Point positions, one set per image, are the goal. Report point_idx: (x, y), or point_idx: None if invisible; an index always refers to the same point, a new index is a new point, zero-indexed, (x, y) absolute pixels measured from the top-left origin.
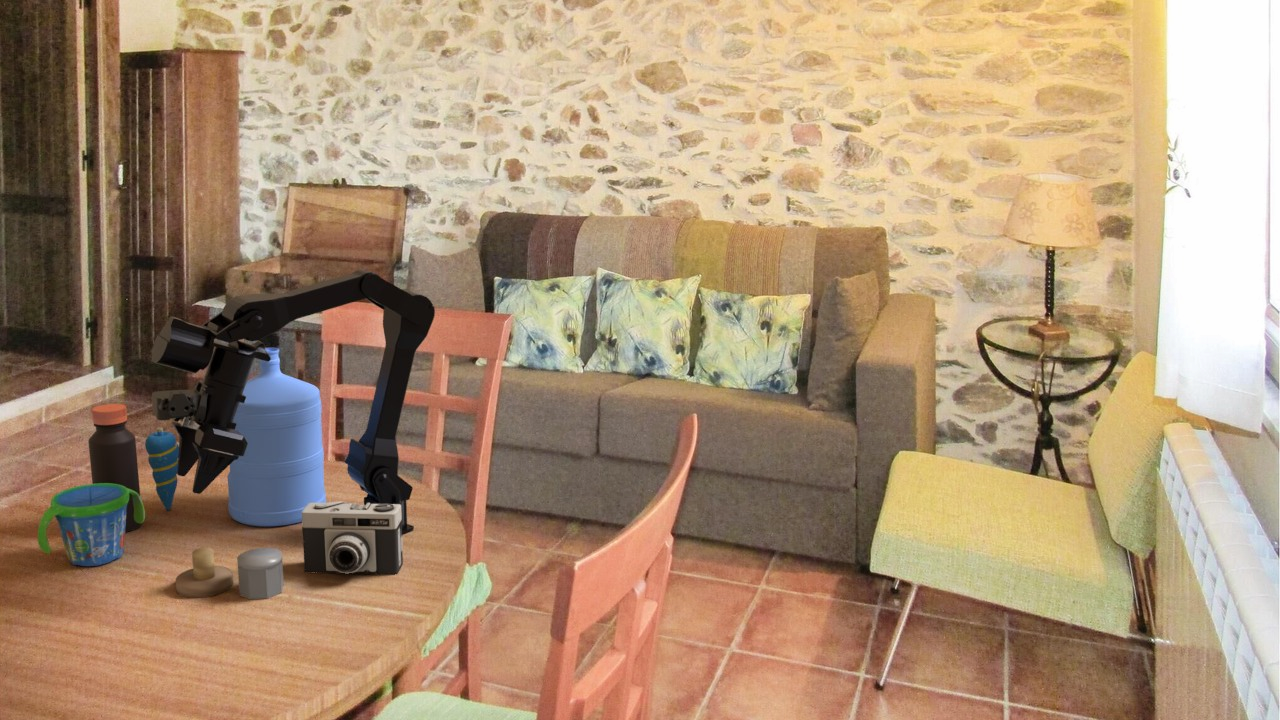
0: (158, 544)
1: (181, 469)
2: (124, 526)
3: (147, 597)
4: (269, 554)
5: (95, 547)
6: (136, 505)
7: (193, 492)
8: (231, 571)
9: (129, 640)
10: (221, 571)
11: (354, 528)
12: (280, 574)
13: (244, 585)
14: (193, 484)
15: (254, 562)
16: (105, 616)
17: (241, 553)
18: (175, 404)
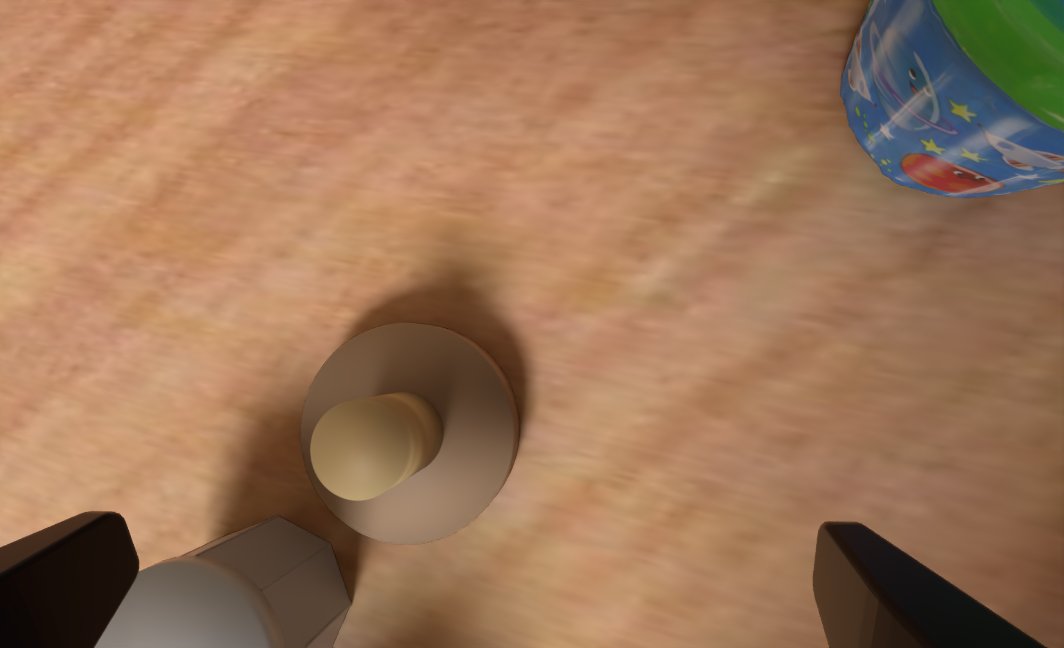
0: (993, 357)
1: (848, 596)
2: (993, 167)
3: (430, 223)
4: None
5: (863, 38)
6: None
7: (95, 513)
8: (398, 540)
9: (141, 126)
10: (418, 505)
11: None
12: None
13: (218, 541)
14: (40, 550)
15: (119, 623)
16: (349, 77)
17: (247, 606)
18: None
